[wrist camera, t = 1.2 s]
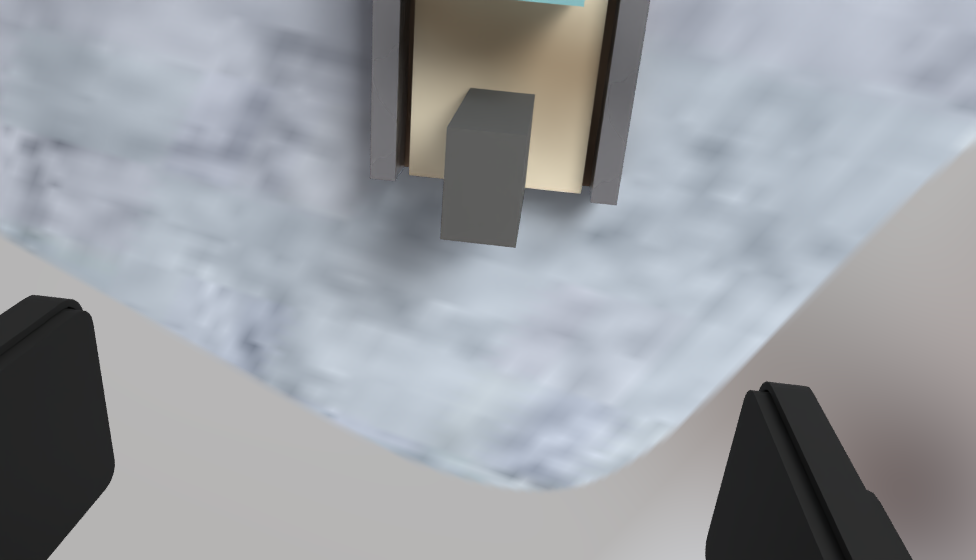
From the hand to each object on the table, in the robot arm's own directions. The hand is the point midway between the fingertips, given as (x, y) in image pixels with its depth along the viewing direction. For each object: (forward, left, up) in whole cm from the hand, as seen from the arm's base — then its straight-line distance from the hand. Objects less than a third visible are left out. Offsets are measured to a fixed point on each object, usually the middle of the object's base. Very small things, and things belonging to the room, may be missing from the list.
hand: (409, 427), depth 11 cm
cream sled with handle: (-4, 0, -15) cm, 16 cm away
